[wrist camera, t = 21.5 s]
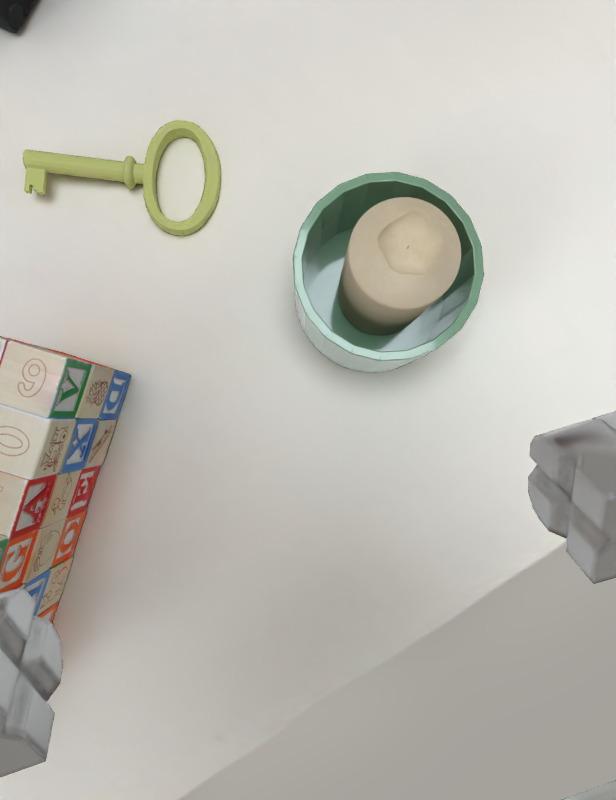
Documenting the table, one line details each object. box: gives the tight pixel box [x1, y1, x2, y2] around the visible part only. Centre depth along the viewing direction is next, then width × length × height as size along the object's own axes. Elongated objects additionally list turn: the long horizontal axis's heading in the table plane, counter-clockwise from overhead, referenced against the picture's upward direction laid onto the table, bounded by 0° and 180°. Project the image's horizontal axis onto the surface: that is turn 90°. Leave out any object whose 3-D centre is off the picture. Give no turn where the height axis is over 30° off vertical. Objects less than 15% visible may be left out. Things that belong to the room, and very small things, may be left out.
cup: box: [293, 172, 484, 372], centre depth 32 cm, size 10×10×7 cm
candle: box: [338, 197, 461, 335], centre depth 30 cm, size 6×6×10 cm
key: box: [23, 120, 221, 236], centre depth 34 cm, size 7×12×2 cm, turn 104°
